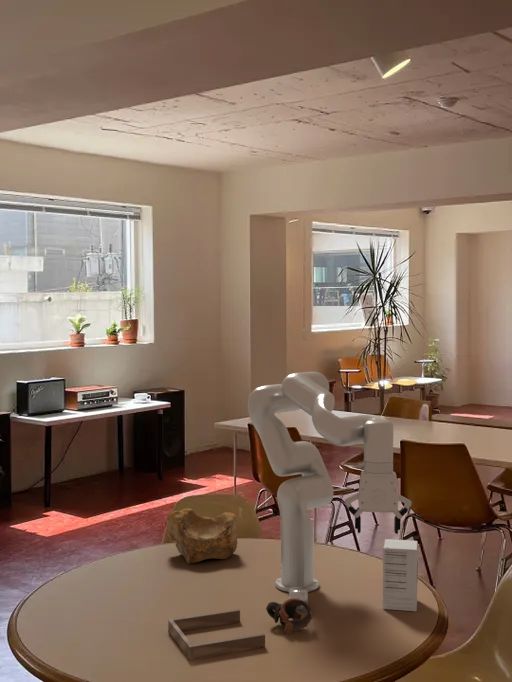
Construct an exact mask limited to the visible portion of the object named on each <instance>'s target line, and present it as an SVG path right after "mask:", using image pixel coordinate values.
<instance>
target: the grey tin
mask: <svg viewBox="0 0 512 682" xmlns="http://www.w3.org/2000/svg"><path fill="white" fill-rule="evenodd" d="M308 594H309V592H308V590H307V589H306V588H303V587H293V588H290V589H289V592H288V599H293V598H295V599H300V600H302V601H304V602H306V603H307V604H308V601H309V600H308V597H309V595H308ZM308 605H309V604H308ZM296 611H297V612H298V613H301V612H307V610H306V608H305V607H304V606H303V605H300V606H297V608H296Z"/></svg>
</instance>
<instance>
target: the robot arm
mask: <svg viewBox="0 0 512 682" xmlns="http://www.w3.org/2000/svg"><path fill="white" fill-rule="evenodd" d="M335 399H336V398H335V396H334V394H333V393H332V392H330V383H329V380H328V378H327V377H326V376H325V375H324V374H322V372H318V371H305V372H304V371H303V372H294V373H290V374H288V375H287V376H285V378H284V379H283V380H282V382H281V383H276V384H267V385H262V386H259V387H256V388H255V389H254V390H252V391H251V392H250V395H249V396H248V400H247V411H248V417H249V419H250V422H251V424H252V425H253V427H254V429H255V430H256V432H257V435H258V436H259V438H260V441H261V444H262V446H263V449H264V451H265V454H266V457H267V460H268V462H269V465H270V467H271V470H272V471H273V473H274V474H275V476H278V477H289V476H295V475H301V476H298V477H293V478H289V479H287V480H285V481H283V482H282V483H281V484H280V485H279V487H278V489H277V491H276V495H277V502H278V508H279V516H280V567H279V570H280V577H279V578H277V579H276V580H275V587H276V588H277V589H278V590H280V591H283V592H287V593H289V589H290V588H293V587H303V588H306V589H307V590H308V593H310V592H313V591H316V590H317V589H318V588H319V586H320V584H319V583H320V582H319V580H318V579H316V578H315V577H314V568H315V567H314V564H315V563H314V562H315V561H314V556H315V555H314V552H315V551H314V548H315V547H314V546H315V545H314V536H315V535H314V533H315V532H314V531H315V530H314V523H313V520H312V518H311V516H310V515H309V512H308V511H309V510H311V509H317V508H321V507H324V506H328V505H329V504H330V503H331V502H332V501H333V498H334V486H333V483H332V480H331V477H330V474H329V471H328V470H327V468H326V464H325V463H324V460H323V457H322V455H321V453H320V451H319V449H318V448H317V447H316V445H315V444H313V443H312V442H310V441H307V440H306V441H303V440H300V441H293V439H292V438H291V435H290V432H289V431H288V428H287V427H286V425H285V424H284V423H283V421H282V419H281V420H280V419H279V417H277V416H276V415H275V414H279V413H287V412H295V411H299V410H302V411H303V412H305V413H306V414H308V415H309V416H311V422H312V424H313V427H314V429H315V430H316V433H318V434H319V435H320V436H321V437H323V438H324V439H325V440H327V441H328V442H329V443H331V444H333V445H335V446H337V447H348V446H353V445H362V444H363V460H362V461H361V462H358V463H357V465H358V466H357V467H358V468H361V469H362V471H360V476H359V483H358V492H357V493H355V494H353V495H350V496H348V497H347V498H344V504H345V505H346V508H347V509H348V512H350V513H351V514H352V516H353V517H354V529H355V530H357V533H358V534H360V533H361V531H362V530H361V527H362V522H361V521H362V517H361V516H362V514H363V513H364V512H366V513H393V514H394V516H393V517H394V518H393V520H394V522H393V525H394V527H393V528H394V529H393V531H394V534H396V535H398V534H399V531H401V527H402V525H401V519H402V518H403V516H405V515H406V514H407V513H408V511H409V509H410V508H411V506H412V505H413V502H412V500H410V499H408V498H406V497H405V496H403V495H401V494H399V491H398V490H399V488H398V487H399V485H398V479H397V473H396V472H395V471H394V424H393V422H392V421H390V420H389V419H381V418H379V419H378V418H375V417H373V416H371V415H368V414H361V415H360V414H359V415H351V416H344V417H339V416H338V415H336V414H334V413H333V410H334V408H335V402H336V400H335ZM357 500H358V507H357V508H355V507H354V506H353V504H352V503H353V502H355V501H357ZM399 502H401V503H403V504H404V506H403V507H402V508H401V509H400V510H399Z"/></svg>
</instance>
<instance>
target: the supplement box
mask: <svg viewBox="0 0 512 682" xmlns="http://www.w3.org/2000/svg"><path fill="white" fill-rule="evenodd" d="M418 544H419V543H418V540H413V539H412V540H409V539H391V538H390V539H389V538H388V539H387V538H385V539H384V545H383V548H382V609H383V610H392V611H393V610H394V611H405V612H418V611H417V609H418V581H419V579H418V578H419V577H418V576H419V575H418V572H419V569H418V568H419V565H418V564H419V562H418V561H419V558H418V557H419V552H418V551H419V550H418V549H419V547H418V546H419V545H418Z"/></svg>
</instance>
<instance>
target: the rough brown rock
mask: <svg viewBox="0 0 512 682" xmlns="http://www.w3.org/2000/svg"><path fill="white" fill-rule="evenodd" d="M166 523H167V524H166V530H167V535H168V538H169V539H170V540H171V541H172V542H174V543H175V546H176V549H177V552H178V553H179V554H181V555H182V556H183V557H184V560H185V562H186V563H187V564H188V565H189V564H190V565H191V564H194V563H200V562H202V561H204V560H208V559H218V560H227V559H229V558H230V557H232V555H233V554H234V553H236V550H237V548H238V532H237V515H236V514H235V513H233V512H228V511H227V512H226V511H225V512H223V513H222V514H220V515H218V516H214V517H210V516H202V515H199V514H198V513H196V512H195V510H194V509H192V508H190V507H189V508H188V507H187V508H183V509H181V510H175V511H171V512H170V513H169V514H168V515H167V518H166Z"/></svg>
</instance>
